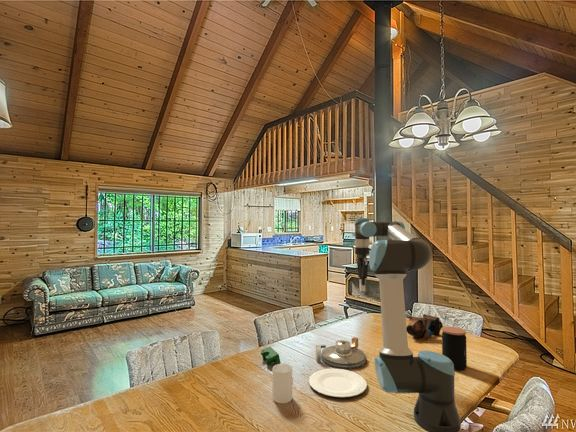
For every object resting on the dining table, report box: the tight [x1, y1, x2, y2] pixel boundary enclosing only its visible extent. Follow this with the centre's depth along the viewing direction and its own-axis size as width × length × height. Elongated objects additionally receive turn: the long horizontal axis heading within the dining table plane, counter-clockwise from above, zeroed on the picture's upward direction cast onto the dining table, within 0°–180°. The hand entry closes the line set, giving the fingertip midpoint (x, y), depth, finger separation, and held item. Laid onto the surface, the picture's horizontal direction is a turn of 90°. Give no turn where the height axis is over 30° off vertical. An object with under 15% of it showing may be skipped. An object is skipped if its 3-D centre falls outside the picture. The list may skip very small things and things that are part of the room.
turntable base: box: [315, 344, 367, 370], centre depth 165 cm, size 25×23×8 cm
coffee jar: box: [441, 325, 468, 372], centre depth 157 cm, size 11×11×18 cm
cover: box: [334, 339, 352, 357], centre depth 166 cm, size 10×10×6 cm
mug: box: [272, 363, 294, 404], centre depth 131 cm, size 8×12×12 cm
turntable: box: [321, 336, 366, 365], centre depth 167 cm, size 25×22×6 cm
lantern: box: [406, 313, 444, 341], centre depth 200 cm, size 16×16×25 cm
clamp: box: [259, 346, 282, 366], centre depth 162 cm, size 12×6×9 cm, turn 21°
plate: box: [308, 368, 368, 399], centre depth 139 cm, size 25×25×2 cm
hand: (362, 291), depth 171 cm, fingers closed
